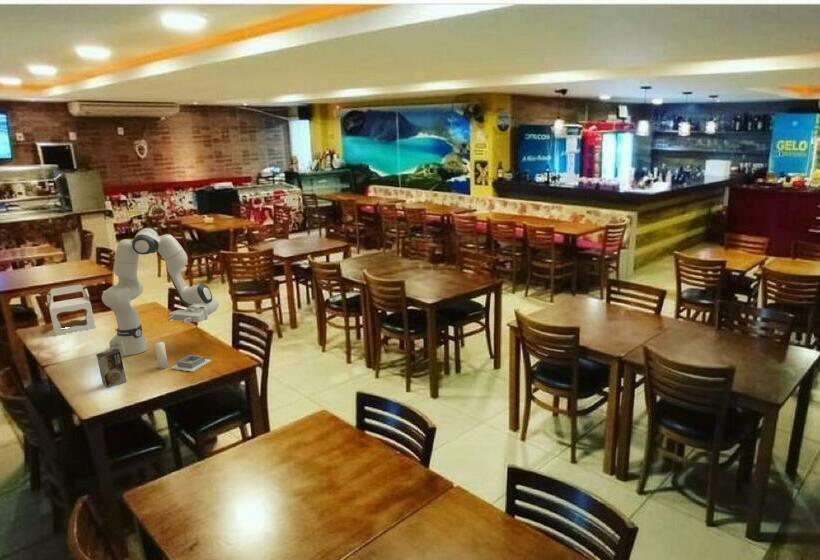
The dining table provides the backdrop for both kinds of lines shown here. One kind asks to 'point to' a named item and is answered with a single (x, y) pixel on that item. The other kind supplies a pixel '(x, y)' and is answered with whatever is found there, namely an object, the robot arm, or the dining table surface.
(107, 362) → the coffee box
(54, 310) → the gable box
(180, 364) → the socket
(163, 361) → the peg
